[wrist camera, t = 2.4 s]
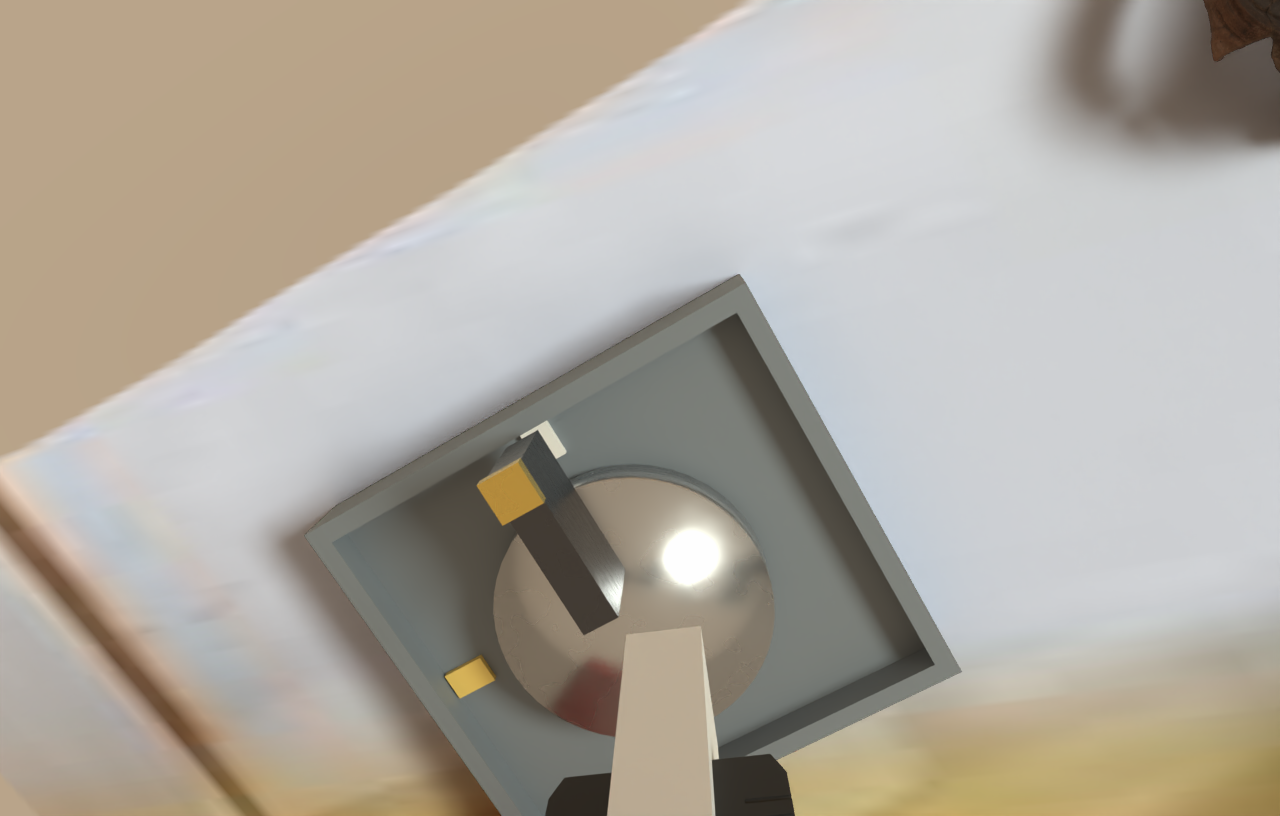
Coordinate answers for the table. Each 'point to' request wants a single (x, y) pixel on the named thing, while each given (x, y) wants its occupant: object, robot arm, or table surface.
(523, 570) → the dial
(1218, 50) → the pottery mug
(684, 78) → the table surface
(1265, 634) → the table surface
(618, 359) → the grey tray
